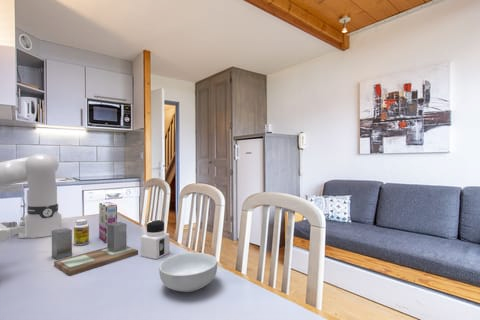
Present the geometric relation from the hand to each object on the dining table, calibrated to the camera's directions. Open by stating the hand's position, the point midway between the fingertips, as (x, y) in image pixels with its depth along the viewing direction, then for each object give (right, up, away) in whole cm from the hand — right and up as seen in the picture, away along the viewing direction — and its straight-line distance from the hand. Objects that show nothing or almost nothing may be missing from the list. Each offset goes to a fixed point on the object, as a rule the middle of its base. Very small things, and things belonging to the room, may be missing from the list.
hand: (20, 226), depth 92 cm
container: (+42, -14, +13) cm, 46 cm away
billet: (+27, -12, +13) cm, 32 cm away
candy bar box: (+15, -14, +31) cm, 37 cm away
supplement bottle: (+6, -14, +25) cm, 29 cm away
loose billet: (+8, -14, +10) cm, 19 cm away
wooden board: (+23, -14, +7) cm, 28 cm away
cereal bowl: (+60, -15, -12) cm, 63 cm away
